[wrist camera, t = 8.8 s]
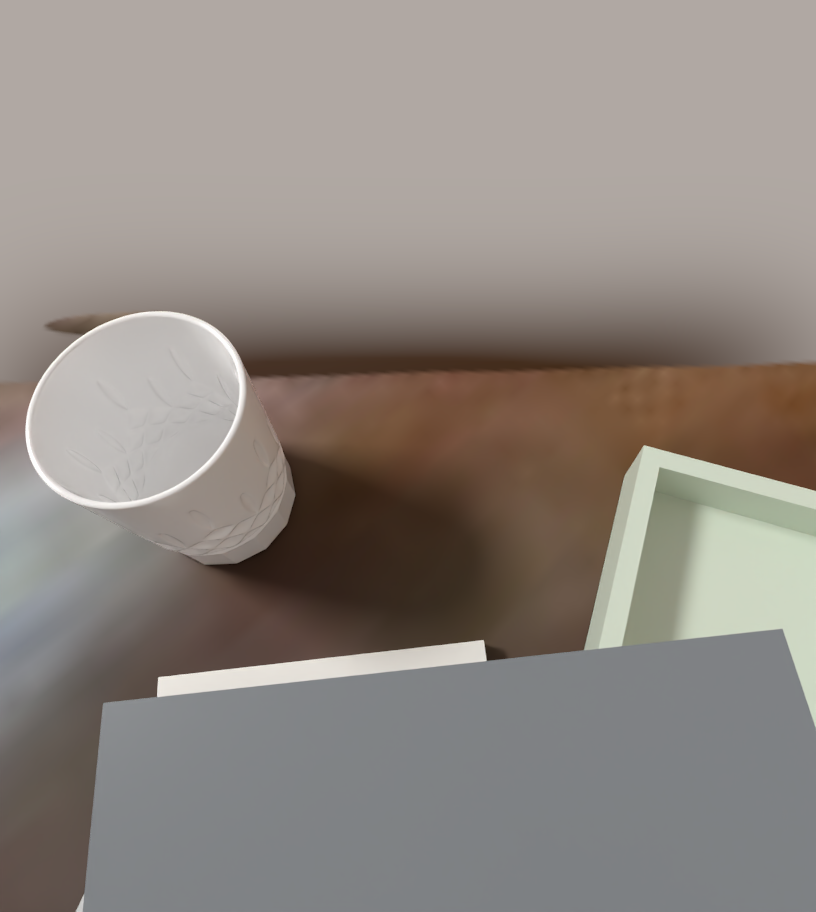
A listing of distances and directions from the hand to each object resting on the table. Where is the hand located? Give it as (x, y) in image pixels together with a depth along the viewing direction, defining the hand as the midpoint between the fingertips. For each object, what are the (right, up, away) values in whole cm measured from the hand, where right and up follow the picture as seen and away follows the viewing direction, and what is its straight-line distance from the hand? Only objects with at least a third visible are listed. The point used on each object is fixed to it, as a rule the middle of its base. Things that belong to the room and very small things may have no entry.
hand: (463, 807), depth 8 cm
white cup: (-10, +2, +23) cm, 25 cm away
